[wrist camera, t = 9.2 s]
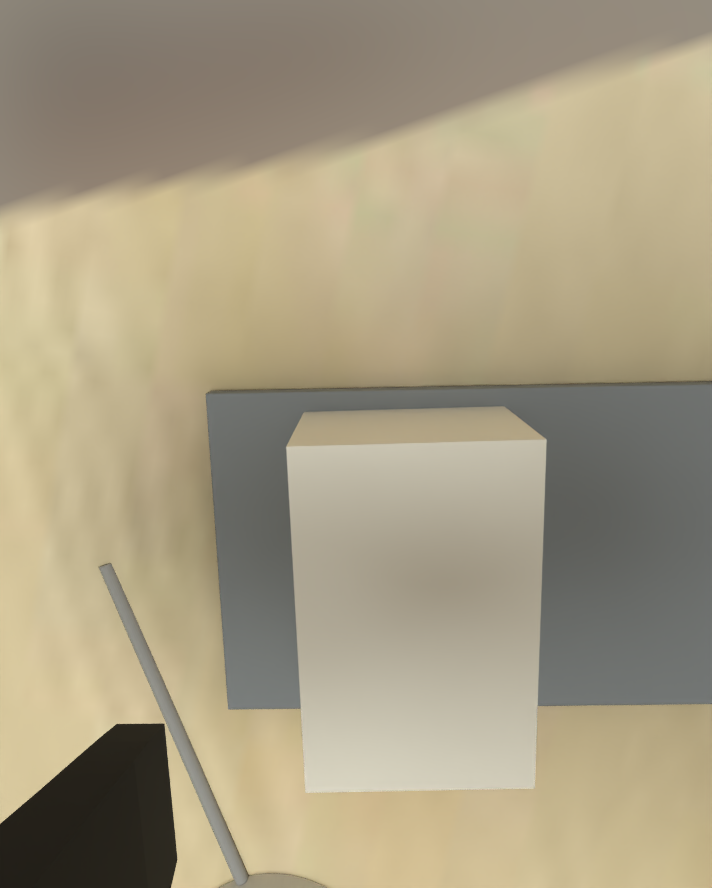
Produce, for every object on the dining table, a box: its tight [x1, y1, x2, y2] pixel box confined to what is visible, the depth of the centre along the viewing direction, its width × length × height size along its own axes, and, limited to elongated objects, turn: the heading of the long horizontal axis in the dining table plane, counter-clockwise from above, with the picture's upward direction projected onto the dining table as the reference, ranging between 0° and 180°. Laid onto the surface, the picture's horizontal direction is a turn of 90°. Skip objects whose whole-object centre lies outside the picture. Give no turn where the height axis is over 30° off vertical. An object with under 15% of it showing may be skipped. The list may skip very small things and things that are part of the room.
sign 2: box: [99, 563, 326, 888], centre depth 18 cm, size 5×1×15 cm
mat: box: [206, 381, 712, 709], centre depth 16 cm, size 18×8×1 cm, turn 91°
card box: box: [286, 406, 547, 793], centre depth 14 cm, size 7×4×4 cm, turn 2°
